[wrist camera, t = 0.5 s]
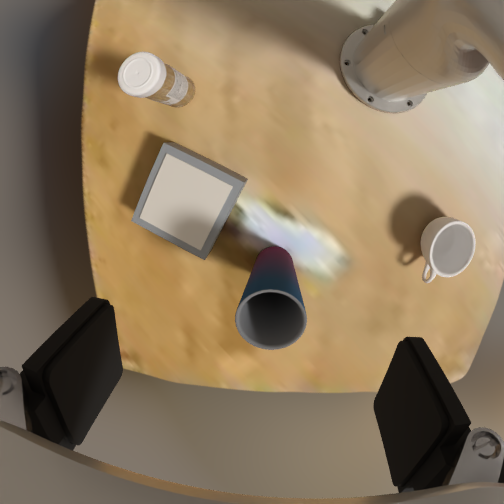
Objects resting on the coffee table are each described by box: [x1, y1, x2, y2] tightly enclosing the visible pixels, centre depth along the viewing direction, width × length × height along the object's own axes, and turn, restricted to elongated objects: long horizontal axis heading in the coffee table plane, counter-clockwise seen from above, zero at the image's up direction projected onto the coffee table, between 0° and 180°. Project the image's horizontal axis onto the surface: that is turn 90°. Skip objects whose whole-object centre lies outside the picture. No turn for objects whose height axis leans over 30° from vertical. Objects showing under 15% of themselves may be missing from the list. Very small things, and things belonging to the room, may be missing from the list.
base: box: [131, 142, 248, 260], centre depth 40 cm, size 11×11×4 cm
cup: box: [235, 246, 307, 350], centre depth 37 cm, size 7×7×15 cm
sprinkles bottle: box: [118, 52, 195, 107], centre depth 31 cm, size 5×5×13 cm
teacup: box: [421, 217, 475, 283], centre depth 38 cm, size 10×8×5 cm
